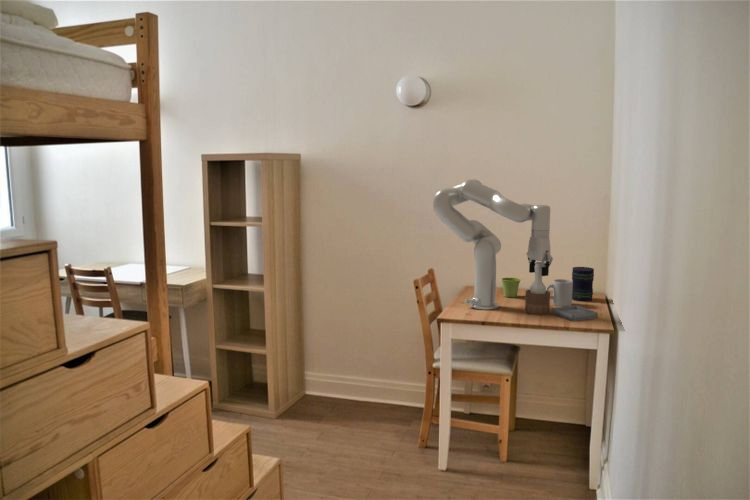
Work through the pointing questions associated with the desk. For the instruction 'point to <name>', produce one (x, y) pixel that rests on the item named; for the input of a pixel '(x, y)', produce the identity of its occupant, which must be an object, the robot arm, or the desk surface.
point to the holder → (537, 303)
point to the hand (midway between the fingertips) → (538, 273)
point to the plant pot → (510, 286)
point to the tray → (574, 313)
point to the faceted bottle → (538, 280)
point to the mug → (561, 292)
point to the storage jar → (582, 284)
